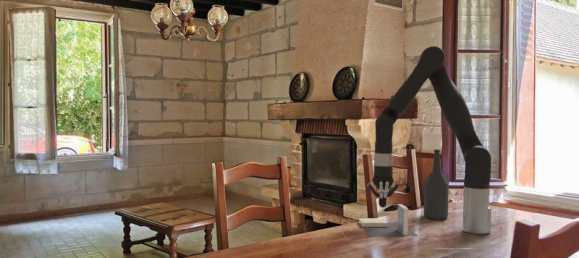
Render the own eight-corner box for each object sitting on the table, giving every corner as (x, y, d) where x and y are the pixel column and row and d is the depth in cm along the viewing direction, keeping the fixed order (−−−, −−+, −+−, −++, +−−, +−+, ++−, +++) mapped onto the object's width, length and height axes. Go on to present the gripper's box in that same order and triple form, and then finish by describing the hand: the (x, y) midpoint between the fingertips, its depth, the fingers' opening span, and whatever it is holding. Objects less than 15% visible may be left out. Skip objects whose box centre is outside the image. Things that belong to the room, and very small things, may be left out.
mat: (401, 223, 193) (401, 222, 193) (418, 237, 171) (418, 236, 171) (358, 223, 192) (358, 222, 192) (370, 237, 170) (370, 236, 170)
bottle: (419, 217, 204) (420, 149, 203) (431, 214, 211) (432, 148, 210) (440, 221, 197) (442, 150, 196) (452, 218, 203) (453, 149, 202)
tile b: (401, 229, 180) (402, 204, 180) (407, 235, 172) (408, 208, 172) (397, 229, 180) (397, 204, 180) (403, 235, 172) (403, 208, 172)
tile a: (383, 218, 192) (359, 218, 191) (388, 222, 184) (363, 222, 183) (383, 222, 192) (359, 222, 191) (388, 227, 184) (363, 227, 183)
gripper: (397, 163, 191) (396, 205, 192) (365, 163, 191) (364, 205, 191) (402, 165, 184) (401, 209, 184) (368, 165, 183) (368, 208, 184)
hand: (382, 207), depth 188 cm, fingers closed
